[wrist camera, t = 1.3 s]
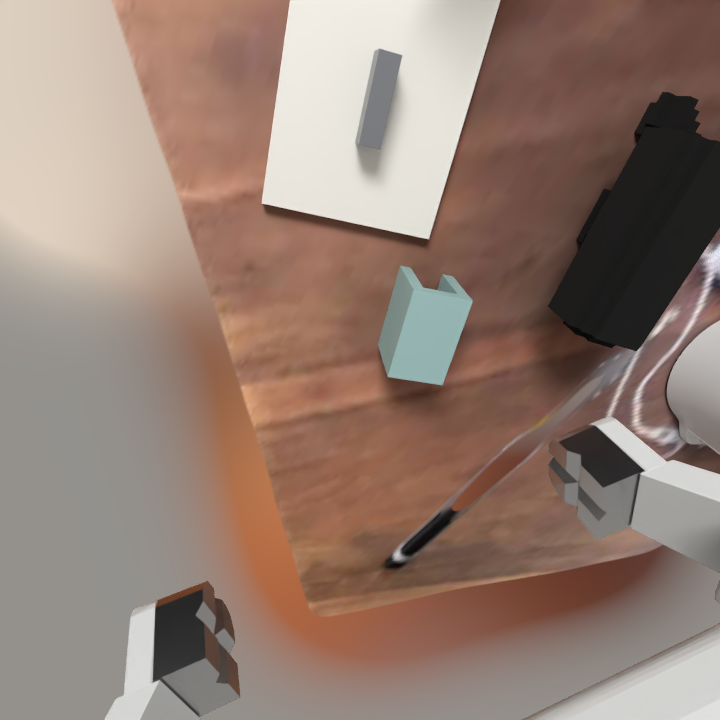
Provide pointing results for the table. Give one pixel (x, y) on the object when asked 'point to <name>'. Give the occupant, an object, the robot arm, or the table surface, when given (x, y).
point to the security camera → (644, 230)
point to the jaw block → (422, 328)
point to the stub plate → (337, 101)
